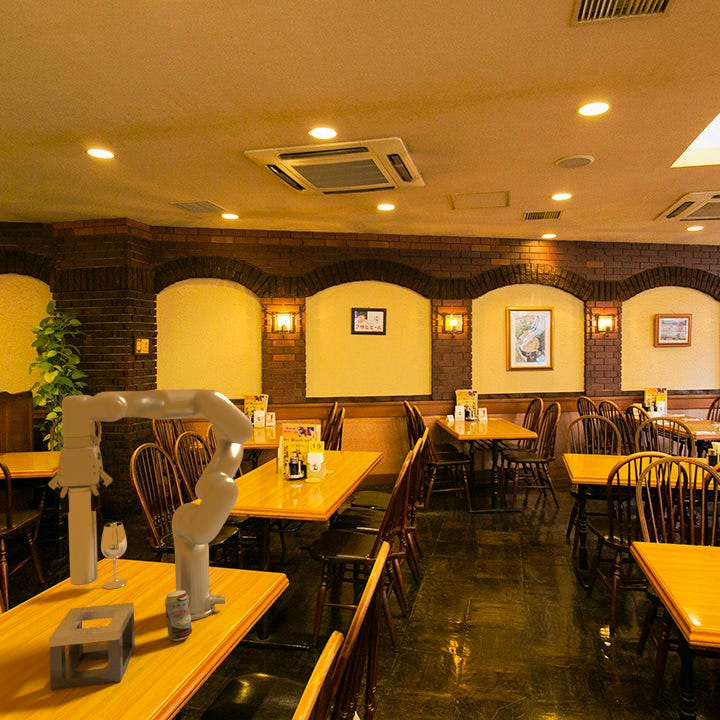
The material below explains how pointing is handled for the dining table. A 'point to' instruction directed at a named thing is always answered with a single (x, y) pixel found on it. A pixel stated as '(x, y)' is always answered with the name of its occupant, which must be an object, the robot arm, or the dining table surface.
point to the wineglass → (114, 549)
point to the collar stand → (74, 636)
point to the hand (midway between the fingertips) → (81, 510)
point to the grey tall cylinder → (82, 536)
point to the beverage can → (178, 615)
